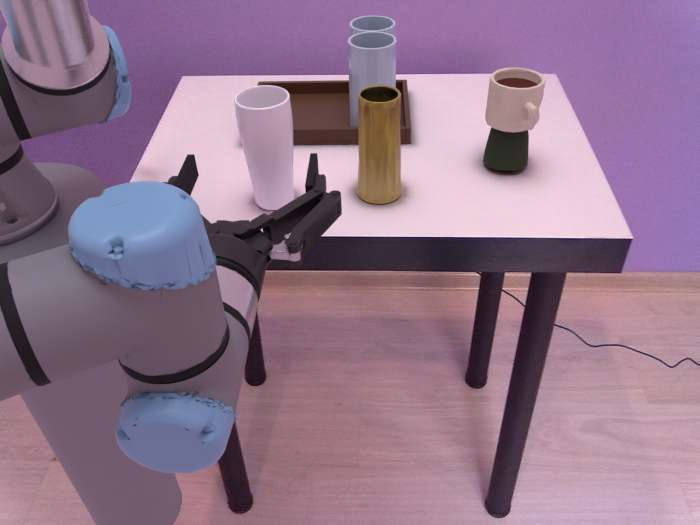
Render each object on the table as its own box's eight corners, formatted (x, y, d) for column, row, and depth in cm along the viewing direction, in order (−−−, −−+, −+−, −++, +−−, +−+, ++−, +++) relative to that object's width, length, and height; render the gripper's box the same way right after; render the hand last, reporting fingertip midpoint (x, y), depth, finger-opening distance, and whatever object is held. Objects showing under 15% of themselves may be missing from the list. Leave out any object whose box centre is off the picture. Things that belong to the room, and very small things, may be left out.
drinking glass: (291, 182, 87) (280, 80, 77) (307, 207, 82) (298, 102, 72) (244, 194, 85) (227, 90, 75) (257, 220, 80) (241, 113, 71)
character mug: (545, 180, 86) (564, 91, 77) (498, 188, 84) (511, 98, 76) (510, 142, 94) (523, 58, 85) (466, 150, 92) (475, 65, 84)
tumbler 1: (351, 117, 102) (348, 31, 93) (352, 98, 107) (350, 15, 98) (394, 117, 101) (395, 30, 92) (393, 98, 107) (394, 15, 98)
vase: (384, 210, 81) (385, 109, 72) (347, 195, 84) (344, 96, 75) (410, 189, 85) (414, 90, 76) (373, 175, 88) (373, 78, 79)
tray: (243, 145, 96) (241, 129, 94) (260, 95, 109) (258, 81, 107) (410, 143, 94) (411, 128, 93) (406, 93, 108) (406, 79, 106)
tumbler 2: (349, 138, 96) (347, 49, 87) (351, 117, 102) (348, 31, 93) (395, 138, 96) (396, 48, 87) (394, 117, 101) (395, 30, 92)
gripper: (84, 324, 56) (151, 193, 72) (362, 325, 54) (366, 192, 71) (56, 259, 51) (134, 135, 67) (361, 259, 50) (365, 132, 66)
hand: (253, 164), depth 69 cm, fingers open, 13 cm apart
